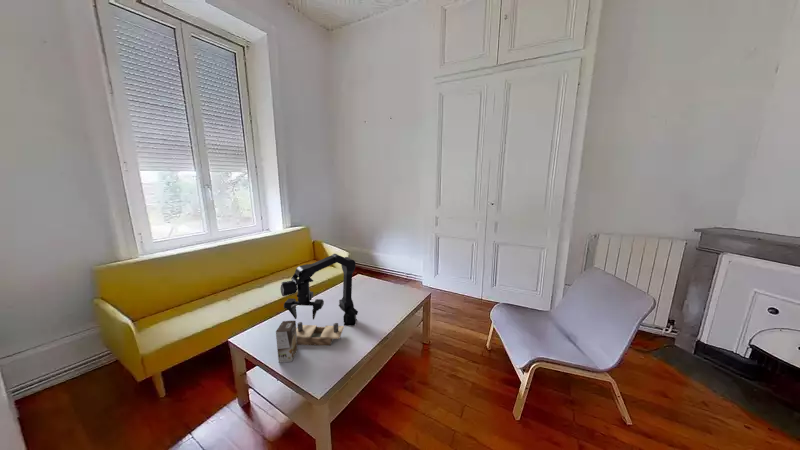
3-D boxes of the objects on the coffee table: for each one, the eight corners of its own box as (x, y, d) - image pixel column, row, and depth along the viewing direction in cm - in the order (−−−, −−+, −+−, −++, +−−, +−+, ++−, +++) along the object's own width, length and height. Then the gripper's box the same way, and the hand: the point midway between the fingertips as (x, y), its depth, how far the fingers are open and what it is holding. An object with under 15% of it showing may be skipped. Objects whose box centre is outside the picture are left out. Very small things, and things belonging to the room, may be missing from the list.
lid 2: (343, 327, 144) (343, 319, 143) (339, 338, 134) (338, 330, 133) (325, 326, 144) (325, 318, 143) (320, 338, 135) (319, 329, 133)
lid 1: (316, 326, 144) (316, 318, 143) (310, 338, 135) (309, 329, 134) (298, 326, 145) (298, 317, 144) (291, 337, 135) (290, 328, 134)
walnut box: (335, 333, 145) (335, 327, 144) (330, 345, 135) (329, 338, 134) (299, 332, 145) (298, 326, 145) (291, 344, 136) (290, 337, 135)
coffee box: (292, 362, 124) (289, 331, 120) (278, 362, 123) (275, 332, 120) (298, 349, 133) (295, 320, 129) (284, 349, 132) (282, 320, 129)
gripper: (326, 284, 142) (327, 311, 145) (291, 283, 142) (292, 310, 145) (320, 294, 131) (321, 322, 134) (282, 293, 131) (284, 321, 134)
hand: (304, 318), depth 137 cm, fingers open, 9 cm apart
